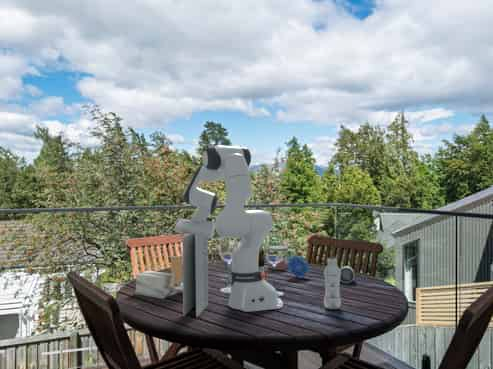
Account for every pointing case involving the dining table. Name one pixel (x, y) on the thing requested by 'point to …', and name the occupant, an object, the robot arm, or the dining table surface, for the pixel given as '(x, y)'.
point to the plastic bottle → (332, 284)
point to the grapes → (298, 266)
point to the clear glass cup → (284, 263)
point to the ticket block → (156, 284)
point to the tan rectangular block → (176, 269)
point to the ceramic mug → (346, 274)
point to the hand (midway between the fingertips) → (190, 239)
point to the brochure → (195, 273)
